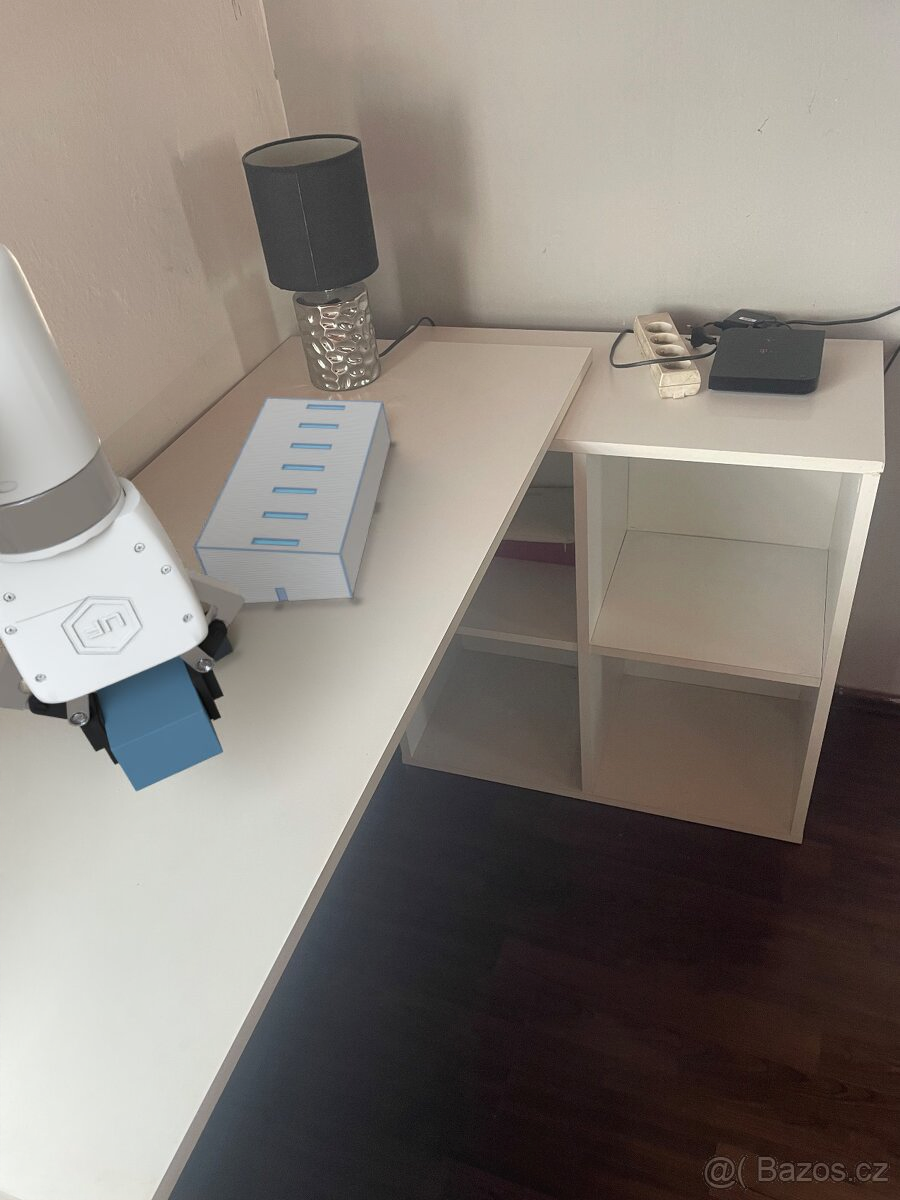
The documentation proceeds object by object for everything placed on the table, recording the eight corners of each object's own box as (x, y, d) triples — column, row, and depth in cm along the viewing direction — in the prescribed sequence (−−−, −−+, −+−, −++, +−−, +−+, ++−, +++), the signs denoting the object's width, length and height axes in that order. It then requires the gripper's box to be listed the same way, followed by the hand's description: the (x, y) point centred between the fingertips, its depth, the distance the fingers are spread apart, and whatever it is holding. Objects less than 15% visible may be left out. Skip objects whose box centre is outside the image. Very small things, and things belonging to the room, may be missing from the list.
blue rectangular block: (136, 792, 53) (110, 750, 50) (114, 713, 58) (91, 672, 56) (223, 752, 54) (203, 709, 52) (195, 679, 60) (175, 637, 57)
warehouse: (352, 598, 87) (336, 538, 82) (217, 605, 89) (193, 547, 84) (391, 441, 109) (380, 387, 104) (282, 450, 112) (266, 397, 107)
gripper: (-142, 600, 39) (36, 830, 51) (221, 468, 44) (307, 707, 55) (-136, 521, 44) (23, 746, 56) (186, 411, 49) (271, 640, 61)
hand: (163, 724), depth 56 cm, fingers closed on blue rectangular block, 5 cm apart
